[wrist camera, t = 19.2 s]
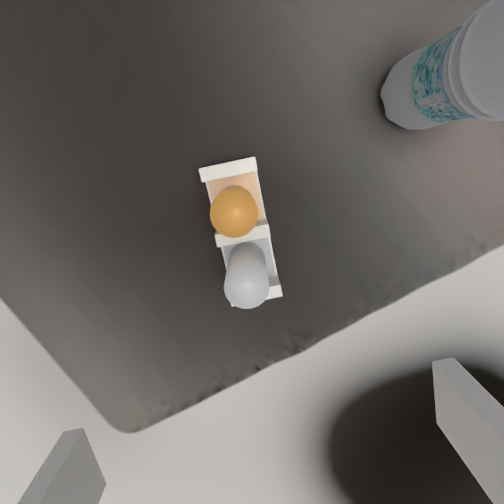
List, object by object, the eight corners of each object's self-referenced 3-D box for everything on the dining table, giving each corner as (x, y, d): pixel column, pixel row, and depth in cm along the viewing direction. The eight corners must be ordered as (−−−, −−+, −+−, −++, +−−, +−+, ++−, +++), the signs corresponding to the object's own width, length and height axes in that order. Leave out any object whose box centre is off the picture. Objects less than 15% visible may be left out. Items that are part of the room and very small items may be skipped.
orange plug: (229, 230, 35) (226, 246, 27) (209, 198, 34) (200, 206, 26) (261, 210, 35) (267, 221, 27) (241, 178, 34) (241, 180, 26)
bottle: (400, 149, 34) (609, 141, 15) (357, 92, 32) (525, 0, 13) (459, 98, 33) (769, 16, 13) (417, 37, 31) (695, -151, 12)
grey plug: (229, 275, 36) (224, 308, 29) (229, 241, 35) (223, 265, 28) (264, 276, 36) (268, 309, 29) (265, 242, 35) (269, 266, 28)
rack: (202, 167, 34) (198, 168, 31) (253, 156, 34) (255, 156, 31) (232, 294, 37) (231, 306, 34) (279, 284, 37) (282, 296, 34)
